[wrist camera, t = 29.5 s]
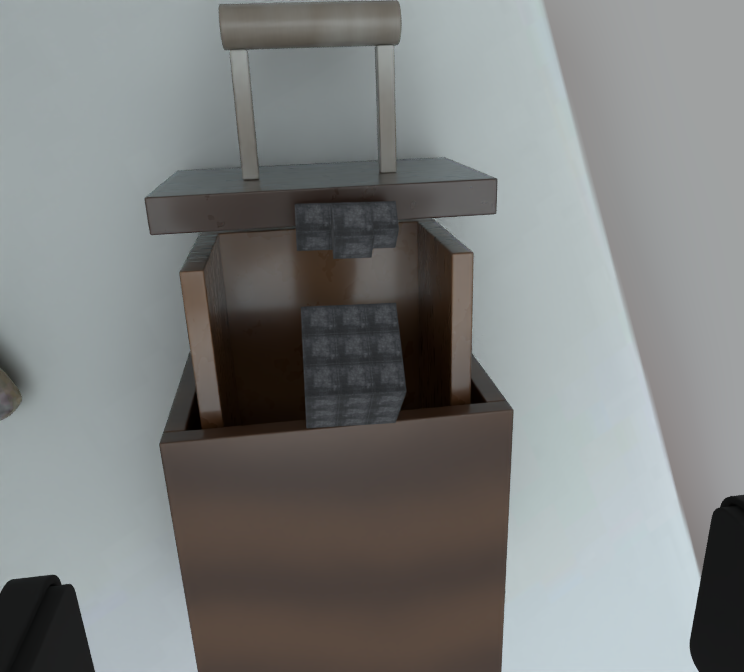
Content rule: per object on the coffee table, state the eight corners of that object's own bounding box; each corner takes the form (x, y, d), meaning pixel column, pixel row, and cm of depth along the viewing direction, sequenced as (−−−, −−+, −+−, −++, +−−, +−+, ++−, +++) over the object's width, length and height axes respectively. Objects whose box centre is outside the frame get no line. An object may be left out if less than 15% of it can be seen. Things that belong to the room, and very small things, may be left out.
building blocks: (305, 428, 23) (300, 328, 16) (298, 291, 25) (292, 150, 18) (395, 422, 23) (431, 322, 16) (380, 288, 26) (406, 148, 19)
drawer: (156, 18, 25) (111, -8, 19) (446, 11, 27) (504, -15, 20) (213, 435, 32) (195, 529, 25) (444, 413, 33) (487, 497, 26)
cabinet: (190, 347, 31) (158, 443, 23) (452, 326, 32) (514, 409, 24) (223, 579, 36) (207, 730, 27) (450, 551, 37) (501, 687, 29)
